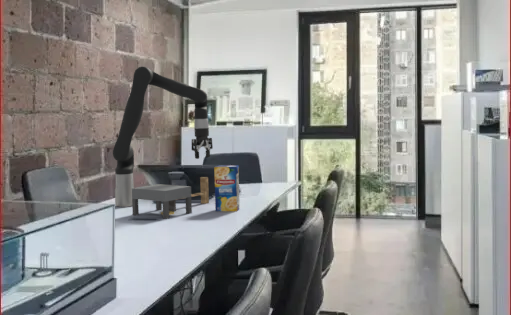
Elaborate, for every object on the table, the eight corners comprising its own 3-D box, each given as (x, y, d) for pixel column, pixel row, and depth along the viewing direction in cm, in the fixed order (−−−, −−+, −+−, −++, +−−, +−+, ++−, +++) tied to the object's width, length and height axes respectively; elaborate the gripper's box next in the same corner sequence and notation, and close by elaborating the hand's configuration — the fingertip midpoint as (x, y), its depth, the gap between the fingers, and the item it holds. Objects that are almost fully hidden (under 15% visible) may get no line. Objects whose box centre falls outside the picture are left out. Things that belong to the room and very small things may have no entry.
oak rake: (203, 202, 315) (202, 176, 314) (210, 203, 312) (209, 177, 311) (166, 210, 291) (166, 182, 290) (174, 210, 288) (173, 183, 287)
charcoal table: (132, 215, 279) (131, 188, 278) (158, 209, 294) (158, 184, 293) (166, 218, 266) (165, 190, 265) (191, 212, 281) (191, 186, 280)
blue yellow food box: (237, 211, 283) (236, 166, 282) (215, 211, 285) (214, 166, 283) (239, 208, 290) (238, 165, 288) (218, 208, 292) (217, 165, 290)
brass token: (161, 215, 279) (160, 212, 279) (167, 213, 282) (167, 210, 282) (167, 216, 276) (167, 212, 276) (174, 214, 280) (174, 211, 280)
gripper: (204, 127, 314) (206, 156, 315) (187, 128, 303) (188, 158, 304) (215, 127, 310) (216, 157, 311) (197, 127, 298) (199, 159, 299)
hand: (202, 158), depth 307 cm, fingers open, 8 cm apart
